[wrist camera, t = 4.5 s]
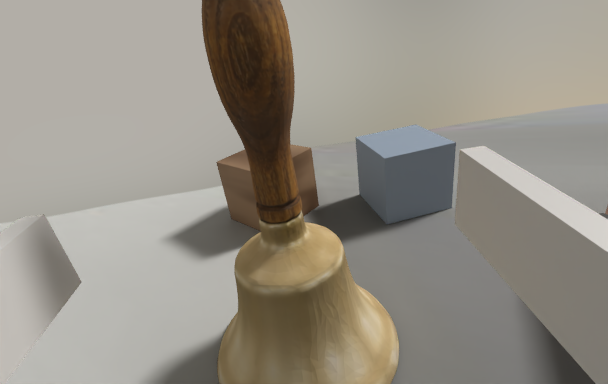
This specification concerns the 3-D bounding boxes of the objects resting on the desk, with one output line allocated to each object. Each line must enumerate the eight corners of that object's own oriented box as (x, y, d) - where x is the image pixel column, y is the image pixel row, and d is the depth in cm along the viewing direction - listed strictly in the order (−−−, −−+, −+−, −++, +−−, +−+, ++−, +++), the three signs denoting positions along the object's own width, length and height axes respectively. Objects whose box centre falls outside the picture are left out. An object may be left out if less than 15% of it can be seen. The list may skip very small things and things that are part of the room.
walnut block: (275, 193, 31) (265, 140, 29) (318, 206, 28) (311, 147, 25) (231, 219, 28) (216, 162, 25) (274, 237, 25) (261, 174, 22)
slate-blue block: (415, 182, 29) (415, 124, 27) (451, 208, 25) (455, 142, 23) (359, 195, 28) (355, 137, 26) (386, 225, 24) (384, 158, 22)
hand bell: (192, 338, 17) (41, -37, 10) (321, 262, 21) (277, -48, 14) (278, 499, 11) (39, -193, 4) (439, 349, 15) (468, -133, 8)
